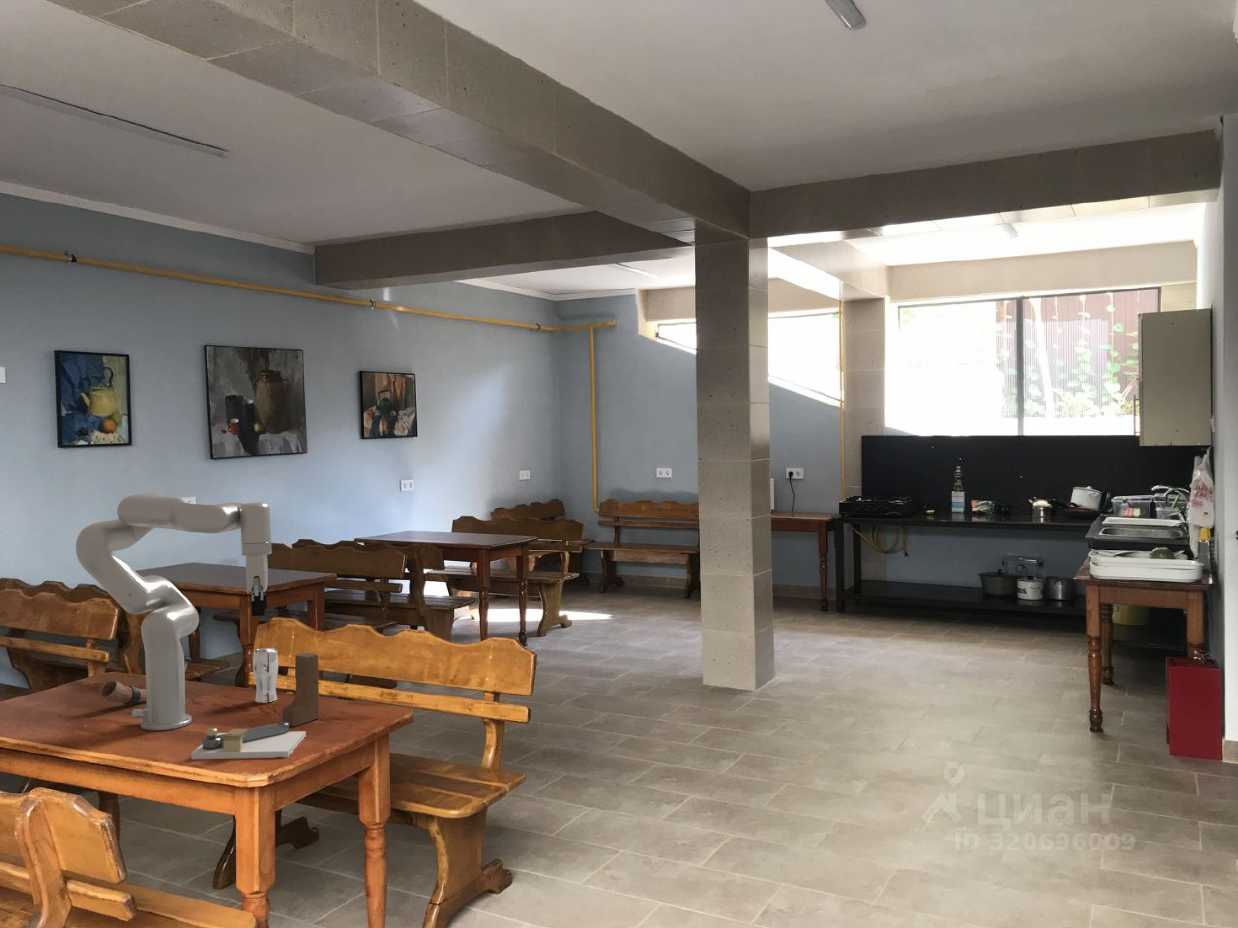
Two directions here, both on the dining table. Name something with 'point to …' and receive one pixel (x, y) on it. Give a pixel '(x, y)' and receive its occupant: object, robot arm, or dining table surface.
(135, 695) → the drinking horn
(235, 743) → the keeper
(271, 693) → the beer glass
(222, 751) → the base plate
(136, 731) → the dining table surface
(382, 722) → the dining table surface
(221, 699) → the dining table surface
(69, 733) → the dining table surface
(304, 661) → the wooden block
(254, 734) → the link
